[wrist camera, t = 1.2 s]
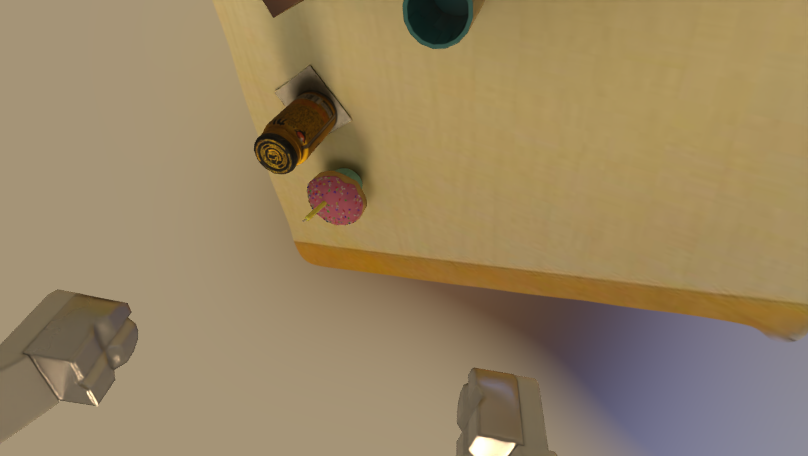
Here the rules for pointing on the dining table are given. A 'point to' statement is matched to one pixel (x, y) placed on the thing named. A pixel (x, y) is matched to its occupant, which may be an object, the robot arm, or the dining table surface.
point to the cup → (440, 20)
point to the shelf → (280, 5)
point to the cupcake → (336, 197)
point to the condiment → (299, 123)
